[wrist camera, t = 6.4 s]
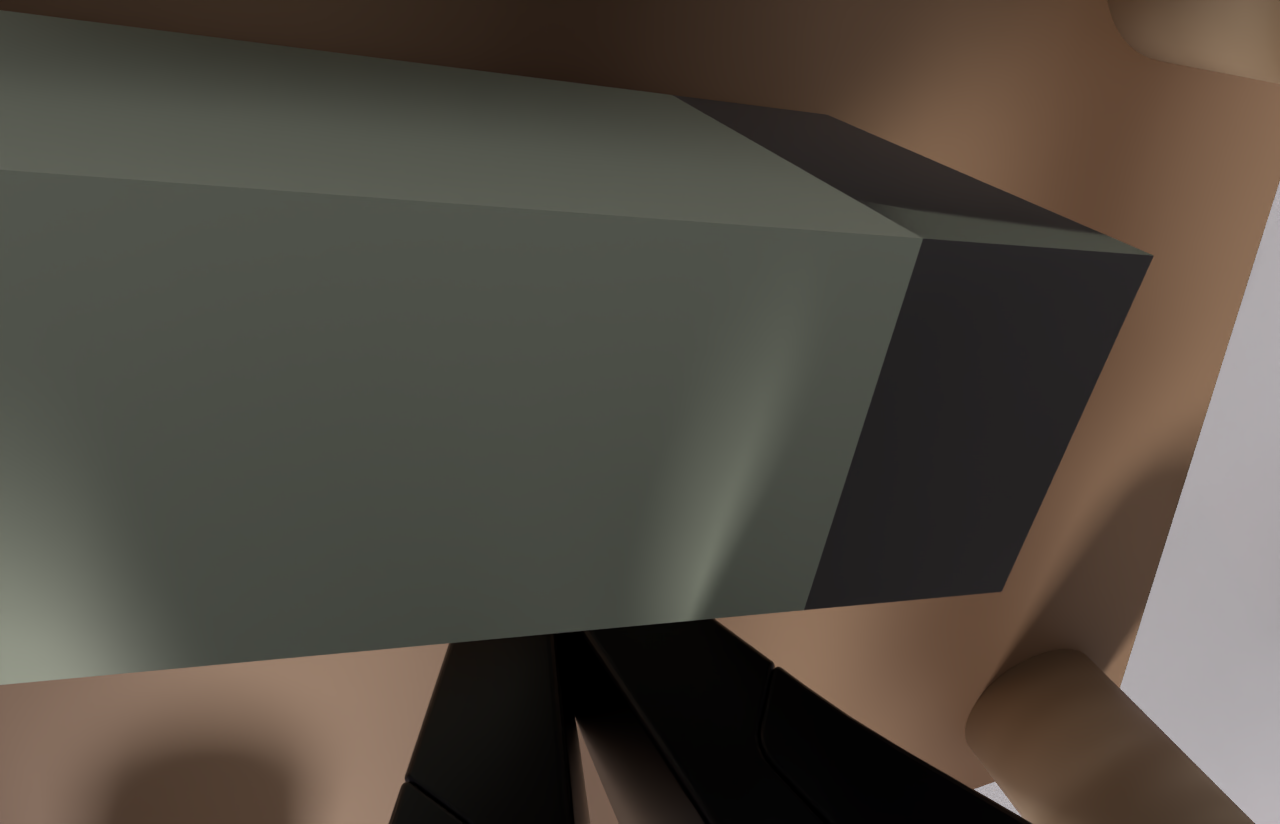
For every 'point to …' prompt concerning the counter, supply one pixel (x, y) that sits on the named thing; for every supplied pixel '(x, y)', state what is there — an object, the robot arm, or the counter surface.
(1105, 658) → the stool seat
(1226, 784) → the counter surface
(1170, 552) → the counter surface
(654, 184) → the hinged leg
